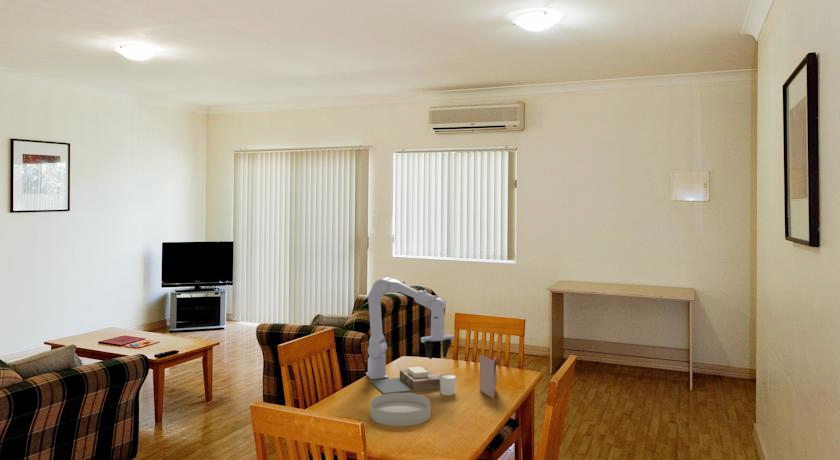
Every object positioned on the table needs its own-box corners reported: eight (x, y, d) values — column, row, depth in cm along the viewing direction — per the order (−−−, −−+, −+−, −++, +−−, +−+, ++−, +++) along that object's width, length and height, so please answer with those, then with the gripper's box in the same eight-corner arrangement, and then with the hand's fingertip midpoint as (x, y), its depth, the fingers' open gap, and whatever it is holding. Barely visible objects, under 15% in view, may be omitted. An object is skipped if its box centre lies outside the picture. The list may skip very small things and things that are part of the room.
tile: (407, 372, 262) (407, 367, 262) (420, 370, 264) (420, 366, 264) (414, 378, 254) (414, 373, 254) (428, 376, 256) (428, 371, 256)
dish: (397, 401, 237) (397, 388, 237) (443, 414, 223) (443, 400, 223) (357, 417, 220) (357, 403, 220) (403, 432, 206) (403, 417, 206)
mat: (371, 382, 261) (371, 380, 261) (398, 379, 266) (398, 377, 266) (383, 394, 244) (383, 393, 244) (412, 391, 249) (412, 389, 249)
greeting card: (495, 398, 240) (496, 361, 239) (476, 397, 242) (477, 360, 241) (497, 389, 251) (498, 354, 251) (479, 388, 253) (480, 353, 252)
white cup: (456, 390, 250) (456, 374, 249) (455, 396, 243) (455, 378, 243) (439, 390, 250) (439, 373, 250) (438, 395, 244) (438, 378, 243)
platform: (399, 379, 266) (399, 369, 266) (425, 376, 270) (425, 367, 270) (413, 391, 249) (413, 381, 249) (441, 388, 253) (441, 378, 253)
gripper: (425, 329, 255) (425, 361, 256) (456, 327, 260) (456, 358, 261) (419, 326, 261) (419, 357, 262) (450, 323, 267) (450, 354, 267)
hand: (437, 357), depth 262 cm, fingers open, 6 cm apart
